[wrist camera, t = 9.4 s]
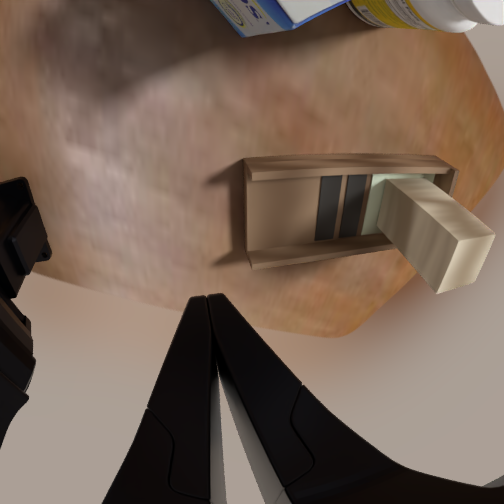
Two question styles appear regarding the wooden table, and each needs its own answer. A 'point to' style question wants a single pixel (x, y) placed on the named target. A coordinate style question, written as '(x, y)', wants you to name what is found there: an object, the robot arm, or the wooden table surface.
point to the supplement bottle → (429, 13)
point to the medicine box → (271, 14)
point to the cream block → (434, 232)
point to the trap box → (324, 203)
